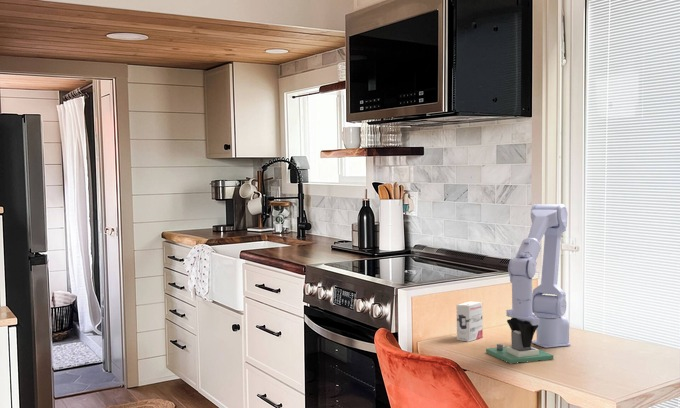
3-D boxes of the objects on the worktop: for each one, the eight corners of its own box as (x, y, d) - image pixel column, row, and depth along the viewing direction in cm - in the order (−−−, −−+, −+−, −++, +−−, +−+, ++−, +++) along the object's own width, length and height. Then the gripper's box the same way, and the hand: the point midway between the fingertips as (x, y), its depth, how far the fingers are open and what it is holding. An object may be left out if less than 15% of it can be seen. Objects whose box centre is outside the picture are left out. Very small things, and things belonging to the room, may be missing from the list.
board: (526, 348, 211) (526, 339, 211) (553, 359, 198) (553, 349, 198) (486, 352, 207) (485, 343, 207) (510, 364, 194) (510, 354, 194)
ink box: (470, 335, 230) (470, 300, 230) (483, 337, 227) (483, 302, 227) (456, 340, 224) (455, 304, 224) (469, 342, 221) (469, 305, 220)
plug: (523, 350, 203) (523, 329, 203) (531, 353, 199) (530, 332, 199) (511, 351, 202) (511, 330, 202) (519, 355, 198) (518, 333, 198)
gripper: (497, 295, 206) (497, 340, 206) (523, 304, 192) (524, 352, 192) (518, 294, 208) (518, 339, 208) (545, 302, 194) (545, 350, 194)
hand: (522, 345), depth 201 cm, fingers closed on plug, 4 cm apart
